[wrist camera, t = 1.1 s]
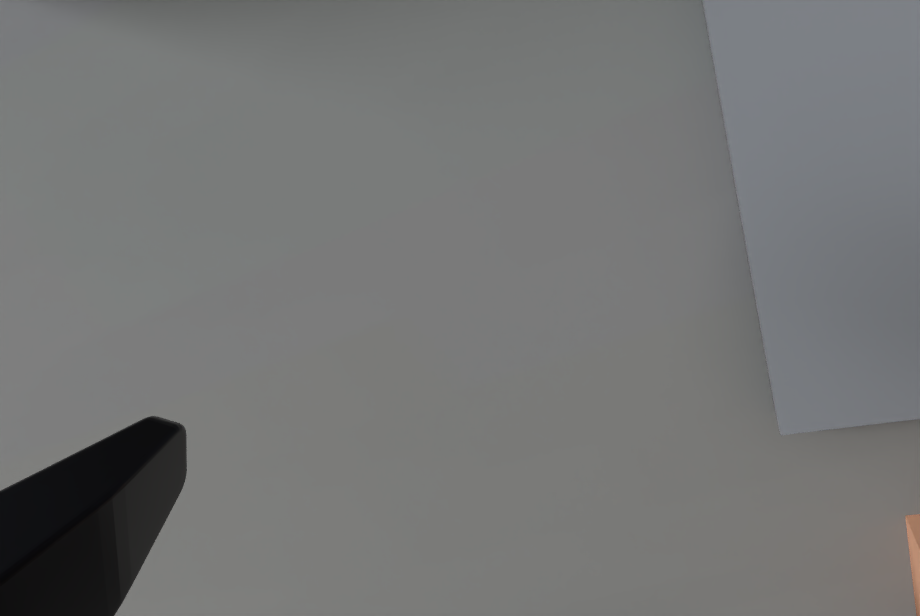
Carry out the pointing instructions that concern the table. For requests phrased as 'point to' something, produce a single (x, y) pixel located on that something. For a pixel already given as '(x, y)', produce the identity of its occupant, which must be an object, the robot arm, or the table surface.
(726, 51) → the grey plate
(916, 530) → the terracotta cube
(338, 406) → the table surface
